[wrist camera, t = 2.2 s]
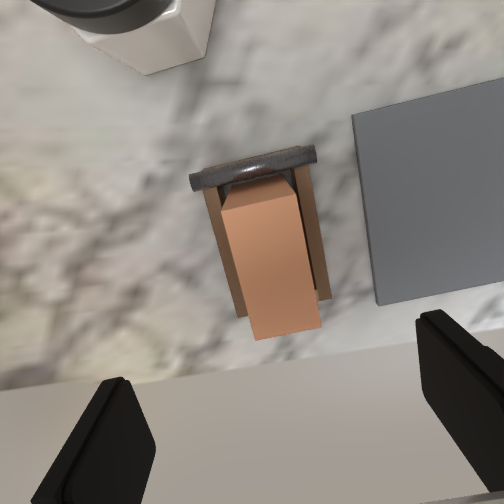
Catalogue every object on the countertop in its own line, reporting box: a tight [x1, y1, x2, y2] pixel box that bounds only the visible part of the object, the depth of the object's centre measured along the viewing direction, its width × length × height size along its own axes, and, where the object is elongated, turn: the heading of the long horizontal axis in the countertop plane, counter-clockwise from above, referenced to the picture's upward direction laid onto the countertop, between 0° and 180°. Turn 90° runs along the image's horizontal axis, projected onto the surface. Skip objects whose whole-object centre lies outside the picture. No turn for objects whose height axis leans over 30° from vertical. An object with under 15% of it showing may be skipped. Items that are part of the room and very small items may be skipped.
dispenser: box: [189, 145, 332, 318], centre depth 26 cm, size 8×12×5 cm
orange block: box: [221, 174, 322, 341], centre depth 24 cm, size 4×8×10 cm, turn 13°
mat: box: [352, 78, 504, 306], centre depth 27 cm, size 14×16×1 cm
